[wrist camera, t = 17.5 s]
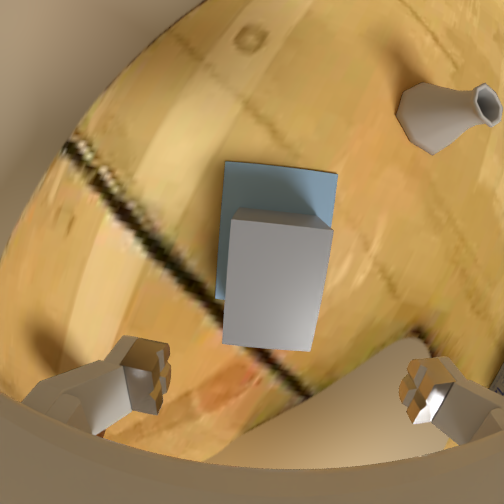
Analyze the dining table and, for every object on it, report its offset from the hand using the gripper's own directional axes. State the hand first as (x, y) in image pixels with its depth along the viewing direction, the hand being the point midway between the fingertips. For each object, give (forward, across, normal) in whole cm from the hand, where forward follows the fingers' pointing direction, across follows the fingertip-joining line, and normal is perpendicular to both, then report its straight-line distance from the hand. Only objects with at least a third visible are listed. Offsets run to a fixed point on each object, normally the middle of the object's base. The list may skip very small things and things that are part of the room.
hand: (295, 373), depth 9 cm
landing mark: (+19, 0, 0) cm, 19 cm away
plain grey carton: (+19, 0, -2) cm, 19 cm away
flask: (+19, +14, +14) cm, 28 cm away
